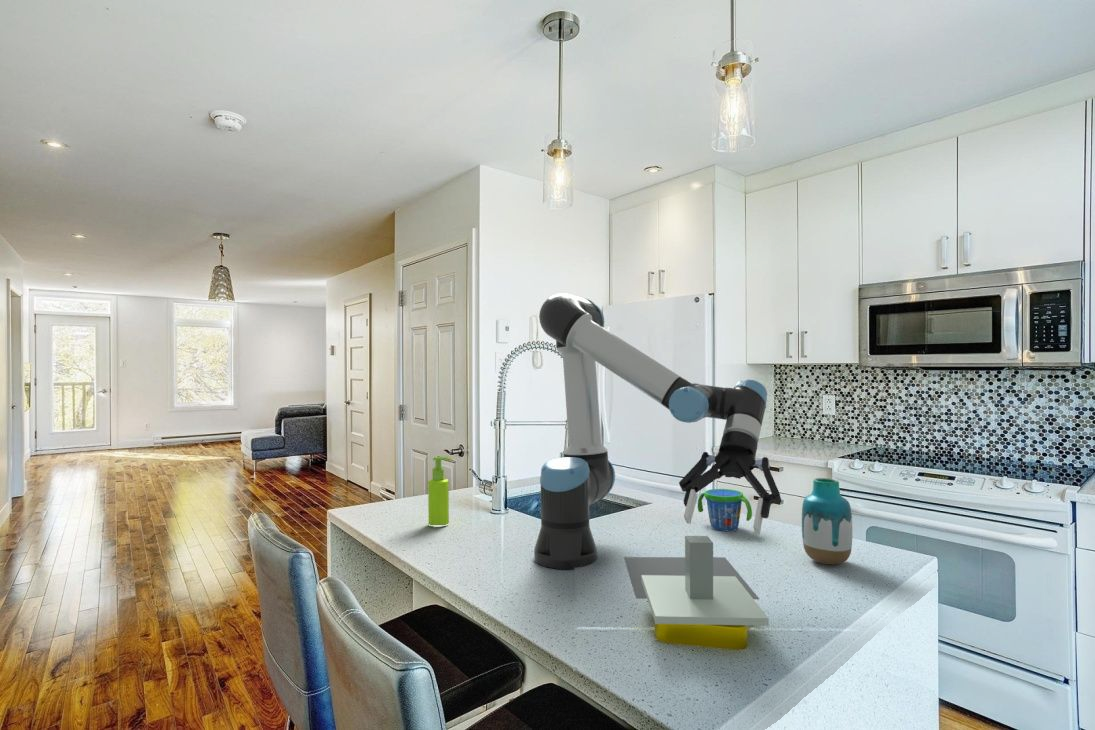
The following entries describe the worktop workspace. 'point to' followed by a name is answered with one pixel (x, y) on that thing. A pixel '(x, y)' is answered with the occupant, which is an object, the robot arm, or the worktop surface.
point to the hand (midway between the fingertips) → (720, 525)
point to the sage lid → (701, 593)
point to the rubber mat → (674, 570)
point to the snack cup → (724, 508)
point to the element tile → (704, 635)
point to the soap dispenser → (438, 495)
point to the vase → (827, 523)
